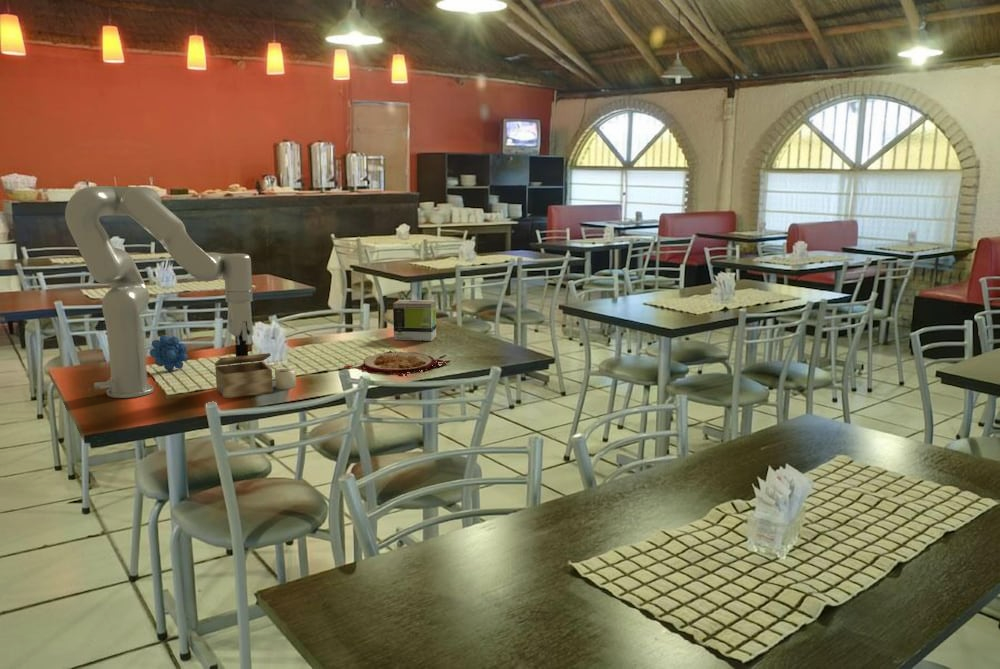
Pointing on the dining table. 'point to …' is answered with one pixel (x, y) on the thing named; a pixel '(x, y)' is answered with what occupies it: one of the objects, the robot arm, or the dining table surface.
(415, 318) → the tea box
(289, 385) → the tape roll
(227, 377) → the carton
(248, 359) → the lid
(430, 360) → the plate with food
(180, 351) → the blue flower
